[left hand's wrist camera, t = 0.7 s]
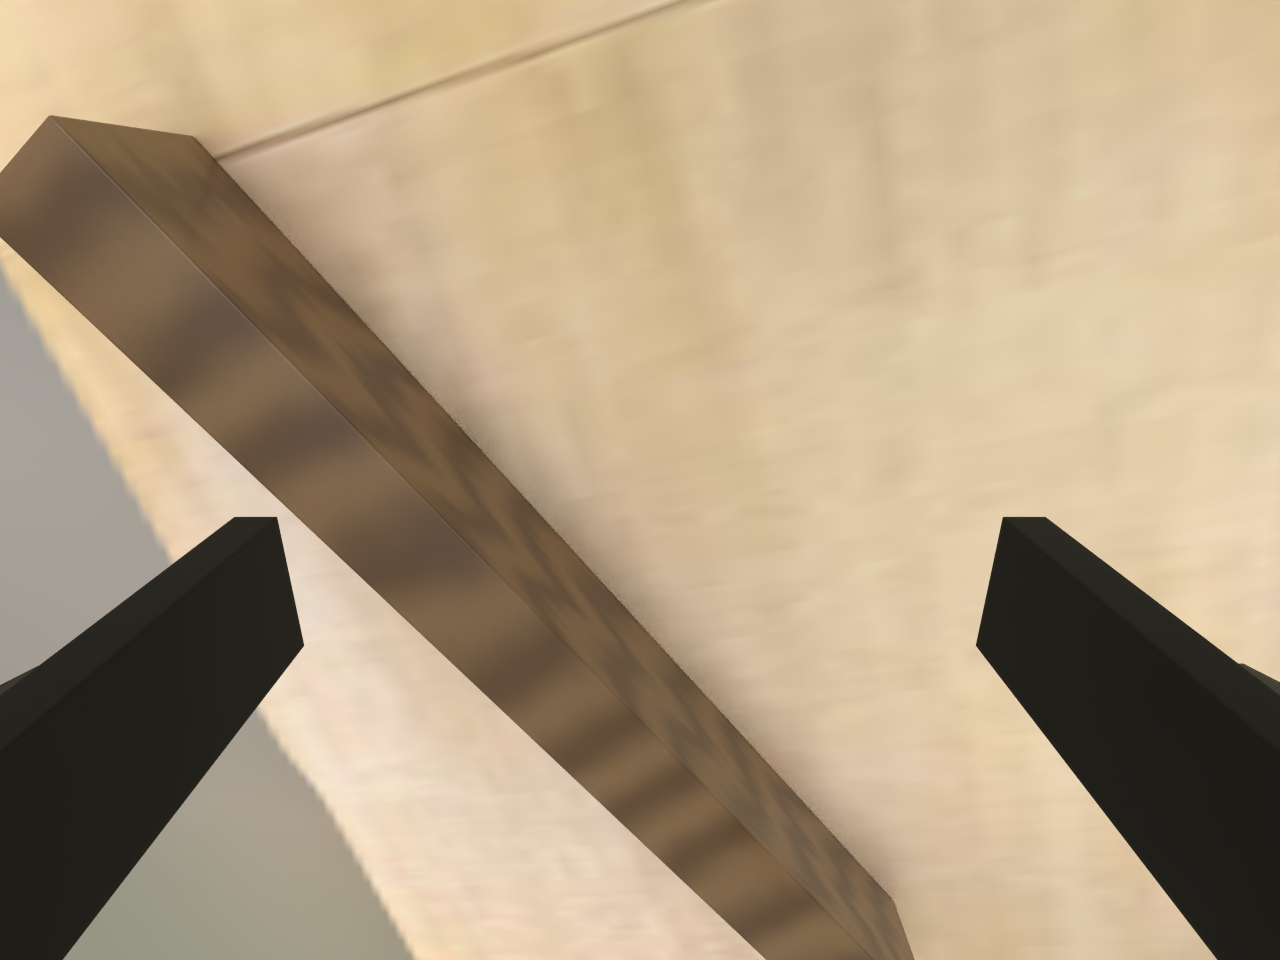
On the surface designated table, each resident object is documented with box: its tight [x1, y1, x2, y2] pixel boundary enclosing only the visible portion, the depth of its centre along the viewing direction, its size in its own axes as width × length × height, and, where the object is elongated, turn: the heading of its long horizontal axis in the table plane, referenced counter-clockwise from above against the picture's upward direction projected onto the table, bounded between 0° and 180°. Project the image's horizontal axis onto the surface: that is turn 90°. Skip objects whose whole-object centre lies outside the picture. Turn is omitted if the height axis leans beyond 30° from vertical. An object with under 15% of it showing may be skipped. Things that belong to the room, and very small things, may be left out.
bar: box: [0, 115, 914, 960], centre depth 38 cm, size 64×5×8 cm, turn 38°
